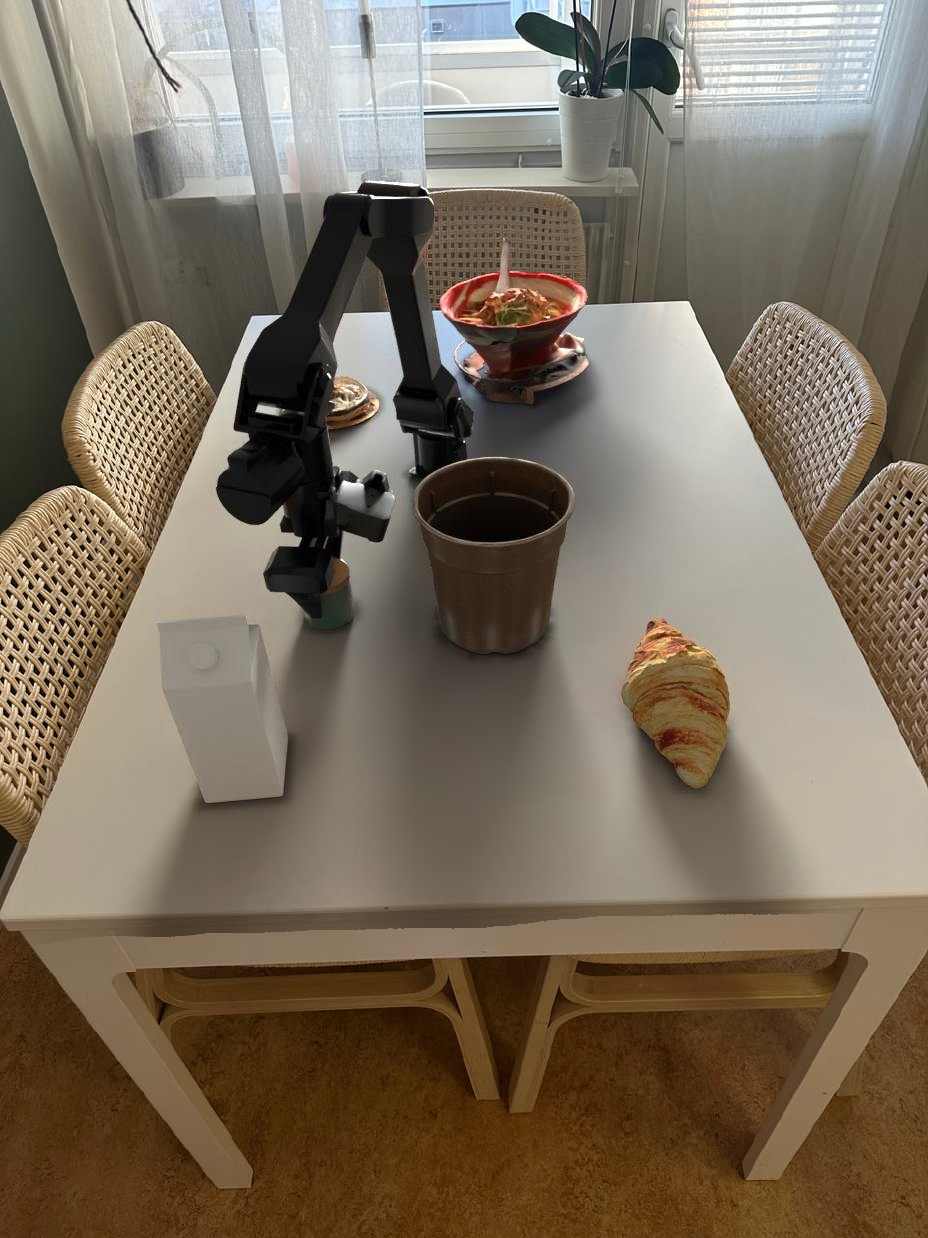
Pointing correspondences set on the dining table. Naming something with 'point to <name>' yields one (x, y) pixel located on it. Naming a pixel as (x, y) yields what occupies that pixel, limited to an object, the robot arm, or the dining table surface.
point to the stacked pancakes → (350, 403)
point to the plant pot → (493, 548)
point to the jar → (336, 600)
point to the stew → (517, 330)
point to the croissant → (679, 700)
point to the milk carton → (225, 706)
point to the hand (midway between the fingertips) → (326, 590)
